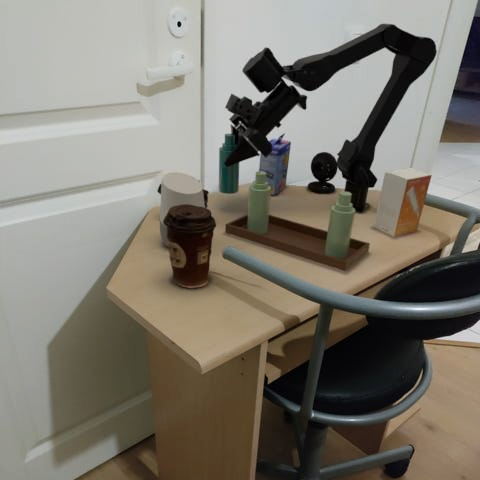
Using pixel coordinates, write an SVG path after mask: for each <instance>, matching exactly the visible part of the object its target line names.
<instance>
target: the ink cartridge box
mask: <svg viewBox="0 0 480 480" xmlns="http://www.w3.org/2000/svg"><path fill="white" fill-rule="evenodd" d="M285 134H286V133H285V132H284V133H282V134H281V135H279V137H278V138H271V139H270V140H268V141H269V142H270V143H271V144H272V145H273V146H272V152H271V153H270V154H269V155H268V156H267V157H266V158H265V157H264V156H263V155H262V154H261V153H259V154H260V155H259V166H258V171H262V172H266V181H267V182H268V186H270V187H271V196H276V195H277V194H278V193H279V192H281V191H282V190H283V189H284V188H286V184H287V177H288V169H289V163H290V162H289V161H290V155H291V145H292V142H291V141H289V140H285V139H283V138H284V136H285Z"/></svg>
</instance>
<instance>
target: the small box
mask: <svg viewBox="0 0 480 480" xmlns="http://www.w3.org/2000/svg"><path fill="white" fill-rule="evenodd" d="M432 176H433V175H432V174H431V173H427V172H424V171H422V170H419V169H416V168H413V167H405V168H399V169H393V170H389V171H385V172H384V177H383V181H382V186H381V191H380V196H379V199H378V205H377V209H376V214H375V218H374V225H373V228H375V229H378V230H380V231H383V232H385V233H387V234H389V235H391V236H393V237H397V236H399V235H402V234H410V233H413V232H414V233H415V232H418V229H419V225H420V221H421V217H422V213H423V209H424V206H425V202H426V198H427V195H428V190H429V187H430V183H431V179H432Z"/></svg>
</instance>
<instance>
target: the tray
mask: <svg viewBox="0 0 480 480" xmlns="http://www.w3.org/2000/svg"><path fill="white" fill-rule="evenodd" d="M247 219H248V213H246V214H244V215H242V216H240V217H237V218H236V219H234V220H232V221H230V222H228V223H225V233H226V234H228V235H233V236H234V237H235V236H236V237H239V238H241V239H245V240H247V241H251V242H254V243H257V244H261V245H264V246H267V247H269V248H272V249H274V250H275V249H276V250H279V251H282V252H285V253H288V254H291V255H294V256H297V257H300V258H304V259H306V260H309V261H312V262H315V263H318V264H322V265H325V266H327V267H331V268H334V269H337V270H340V271H343V272H345V271H347V270H348V269H349V268H351V267H352V266H353V265H354V264H355V263H356V262H357V261H359V260H360V259H361V258H363V257H364V256H365V255H366V254H368V253H369V250H370V246H371V243H369V242H366V241H363V240H359V239H355V238H352V237H351V239H350V244H349V250H348V255H347V257H346V258H344V259H339V258H336V257H332V256H329V255H326V254H325V253H324V252H325V245H326V239H327V232H328V230H324V229H322V228H318V227H314V226H311V225H308V224H304V223H299V222H297V221H294V220H290V219H287V218H282V217H279V216H276V215H273V214H269V223H268V231H267V232H266V233H263V234H259V233H256V232H253V231H249V230H247Z"/></svg>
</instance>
